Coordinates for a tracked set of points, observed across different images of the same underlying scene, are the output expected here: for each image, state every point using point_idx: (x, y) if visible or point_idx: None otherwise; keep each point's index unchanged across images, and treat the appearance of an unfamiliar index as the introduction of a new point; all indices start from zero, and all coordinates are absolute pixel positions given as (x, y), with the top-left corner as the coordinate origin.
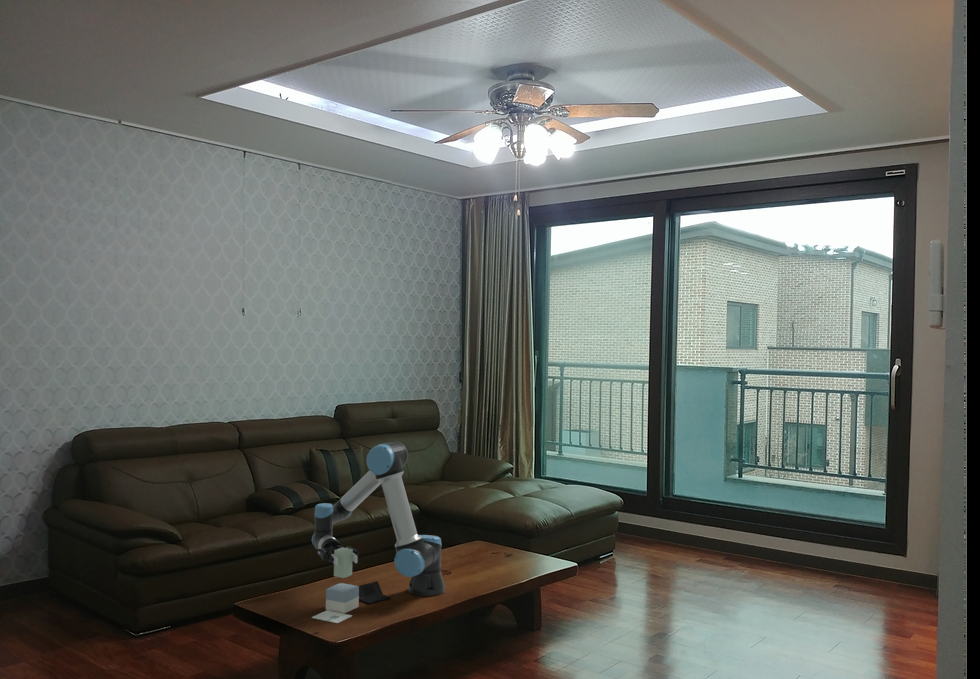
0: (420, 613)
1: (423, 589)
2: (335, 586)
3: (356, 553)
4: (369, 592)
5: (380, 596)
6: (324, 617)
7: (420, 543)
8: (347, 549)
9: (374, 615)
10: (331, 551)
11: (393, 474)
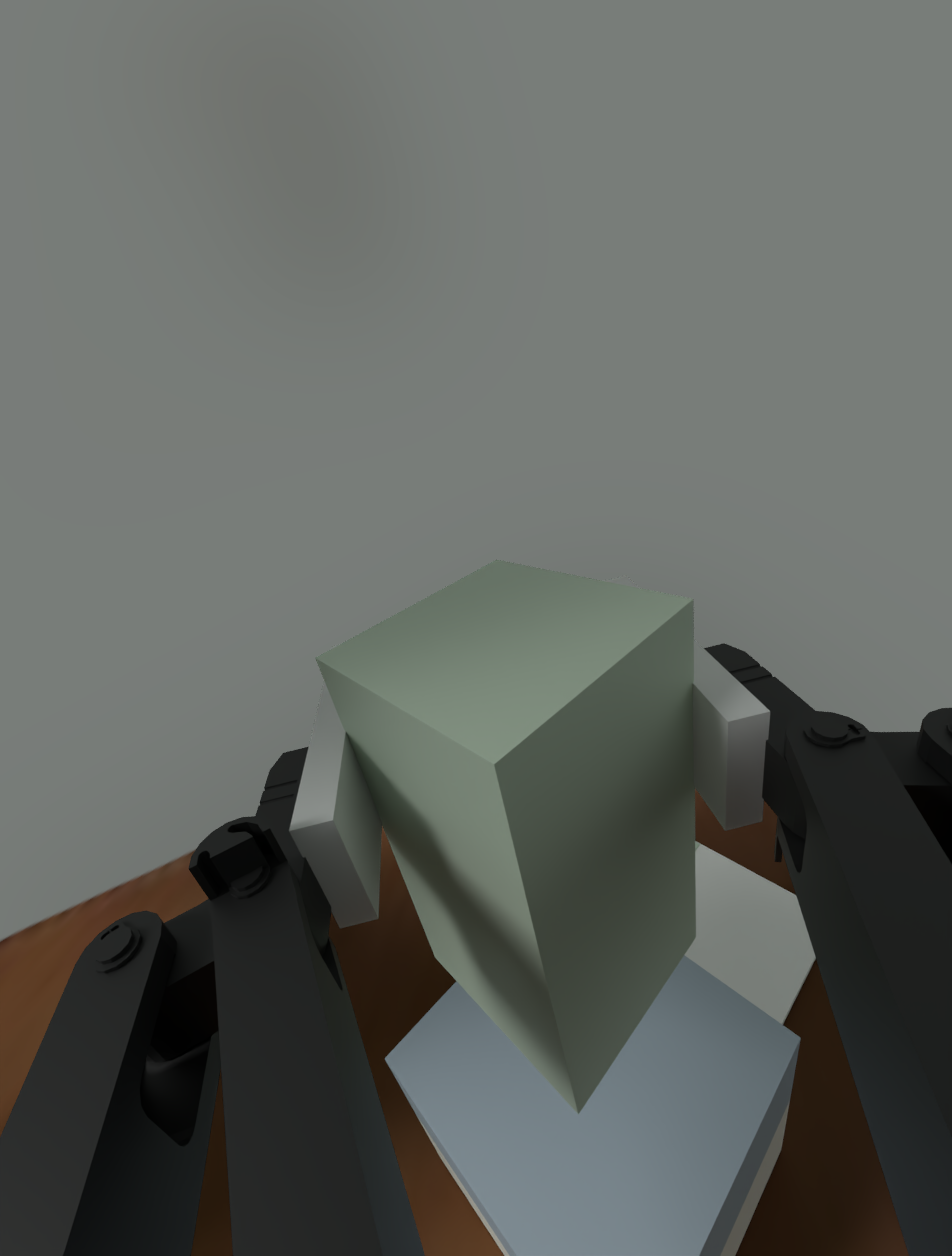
0: (149, 886)
1: None
2: (686, 1137)
3: (189, 919)
4: None
5: None
6: (724, 893)
7: None
8: (414, 643)
9: (388, 898)
10: (938, 1047)
11: None
